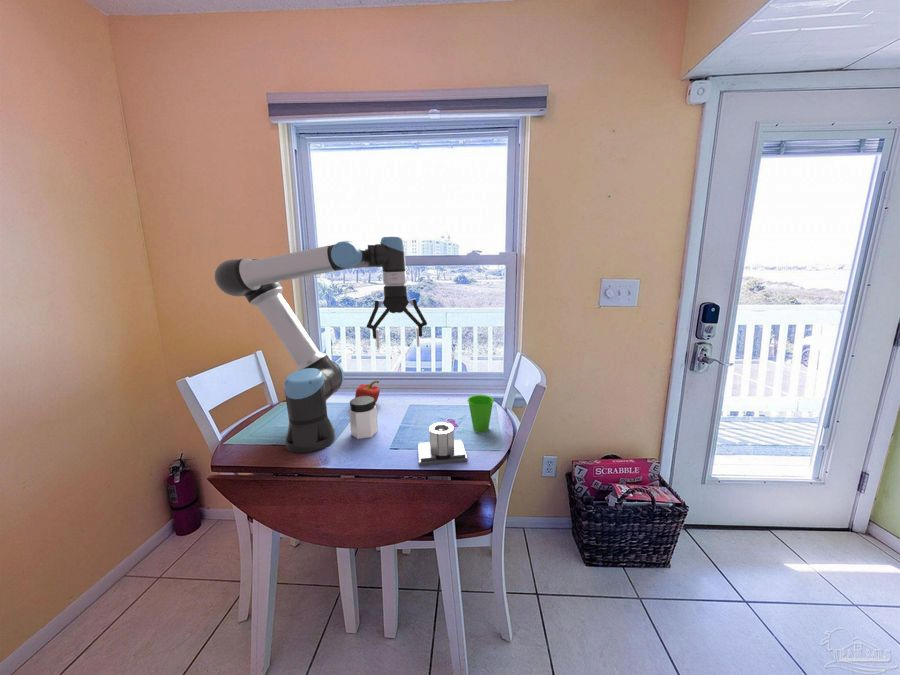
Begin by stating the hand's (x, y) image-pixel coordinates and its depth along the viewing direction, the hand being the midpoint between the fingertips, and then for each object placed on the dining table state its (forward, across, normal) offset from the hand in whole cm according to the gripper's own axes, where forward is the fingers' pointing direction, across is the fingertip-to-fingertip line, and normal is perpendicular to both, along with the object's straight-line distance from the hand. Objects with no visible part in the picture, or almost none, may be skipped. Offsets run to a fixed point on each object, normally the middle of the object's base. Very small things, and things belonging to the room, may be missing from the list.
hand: (398, 346), depth 120 cm
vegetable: (+29, -14, +19) cm, 37 cm away
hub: (+27, +12, -24) cm, 38 cm away
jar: (+29, -13, -5) cm, 32 cm away
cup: (+29, +27, -9) cm, 41 cm away
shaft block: (+29, +12, -23) cm, 39 cm away
